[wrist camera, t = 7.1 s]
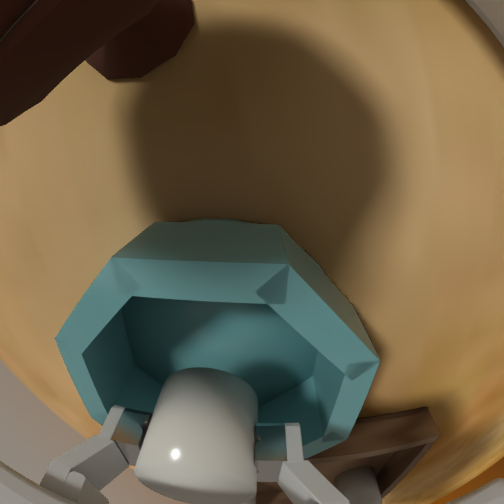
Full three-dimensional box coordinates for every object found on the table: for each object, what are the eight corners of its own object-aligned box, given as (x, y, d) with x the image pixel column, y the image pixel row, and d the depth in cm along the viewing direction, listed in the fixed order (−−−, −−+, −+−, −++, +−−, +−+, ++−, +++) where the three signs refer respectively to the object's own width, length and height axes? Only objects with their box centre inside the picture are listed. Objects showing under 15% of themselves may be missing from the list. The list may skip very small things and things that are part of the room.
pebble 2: (379, 463, 19) (388, 497, 15) (366, 479, 20) (373, 510, 16) (340, 469, 19) (346, 506, 15) (330, 485, 20) (335, 517, 16)
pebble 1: (260, 370, 10) (259, 469, 6) (256, 429, 11) (254, 509, 7) (154, 362, 10) (118, 450, 6) (170, 422, 11) (150, 496, 7)
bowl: (358, 223, 12) (407, 266, 8) (319, 409, 16) (330, 471, 12) (94, 217, 12) (30, 252, 8) (135, 397, 16) (112, 452, 12)
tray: (426, 406, 17) (440, 434, 14) (374, 479, 21) (379, 500, 18) (181, 417, 17) (172, 452, 14) (201, 486, 21) (197, 509, 19)
